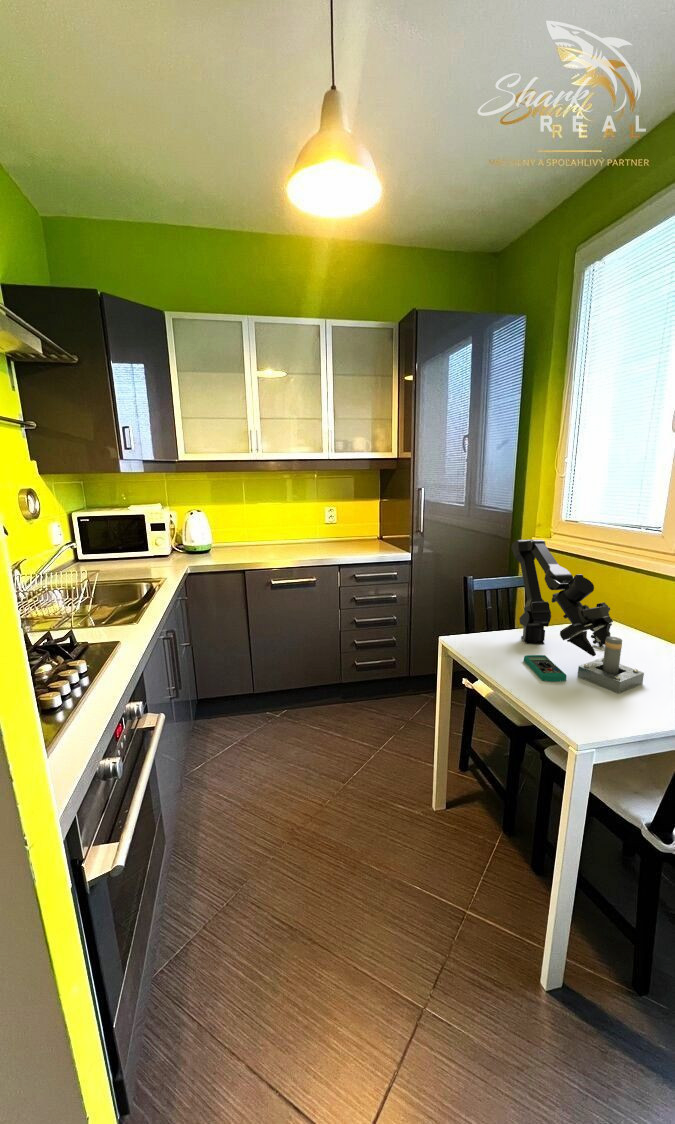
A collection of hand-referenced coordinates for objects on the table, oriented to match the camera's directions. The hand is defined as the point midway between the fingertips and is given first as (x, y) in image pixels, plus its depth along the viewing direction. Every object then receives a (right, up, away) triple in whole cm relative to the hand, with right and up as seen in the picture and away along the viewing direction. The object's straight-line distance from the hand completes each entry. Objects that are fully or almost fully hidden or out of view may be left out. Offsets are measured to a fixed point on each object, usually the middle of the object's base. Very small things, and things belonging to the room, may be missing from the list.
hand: (603, 652), depth 126 cm
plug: (+1, -8, -1) cm, 8 cm away
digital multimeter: (-15, -8, +6) cm, 18 cm away
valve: (+17, -2, +29) cm, 34 cm away
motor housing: (+1, -8, -1) cm, 8 cm away
